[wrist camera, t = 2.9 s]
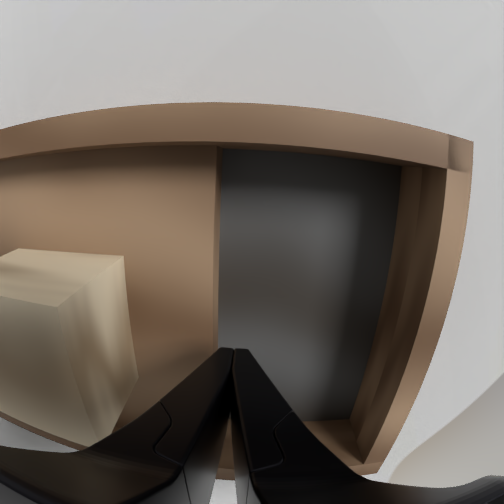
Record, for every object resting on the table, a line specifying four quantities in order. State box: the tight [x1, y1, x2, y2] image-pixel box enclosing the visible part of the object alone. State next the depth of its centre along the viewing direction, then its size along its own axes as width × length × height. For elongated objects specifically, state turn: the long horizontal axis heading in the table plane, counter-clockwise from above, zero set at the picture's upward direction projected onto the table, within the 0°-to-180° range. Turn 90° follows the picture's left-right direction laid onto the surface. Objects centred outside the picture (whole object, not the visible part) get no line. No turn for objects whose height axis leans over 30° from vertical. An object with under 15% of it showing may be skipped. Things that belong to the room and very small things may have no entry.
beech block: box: [0, 248, 139, 447], centre depth 8 cm, size 5×5×4 cm
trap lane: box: [0, 102, 473, 480], centre depth 10 cm, size 14×35×4 cm, turn 87°
